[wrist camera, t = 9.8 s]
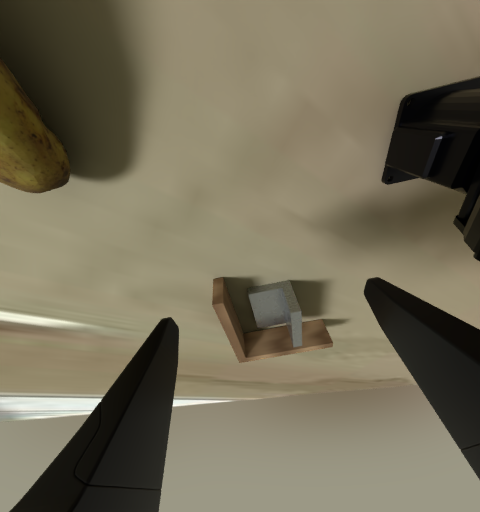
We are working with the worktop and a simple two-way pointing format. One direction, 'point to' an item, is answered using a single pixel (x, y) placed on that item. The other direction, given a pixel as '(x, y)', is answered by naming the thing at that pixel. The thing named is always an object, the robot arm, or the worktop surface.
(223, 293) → the wooden corner frame
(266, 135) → the worktop surface
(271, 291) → the bracket
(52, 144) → the potato
